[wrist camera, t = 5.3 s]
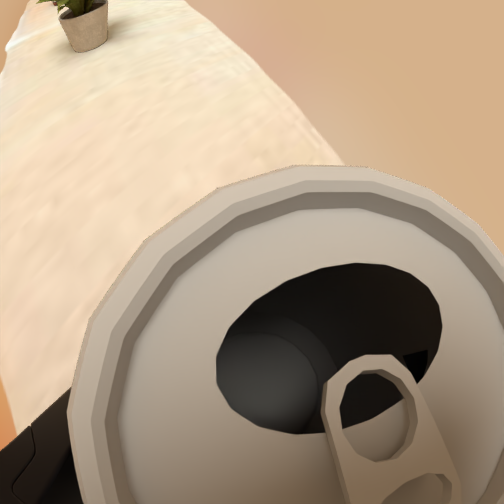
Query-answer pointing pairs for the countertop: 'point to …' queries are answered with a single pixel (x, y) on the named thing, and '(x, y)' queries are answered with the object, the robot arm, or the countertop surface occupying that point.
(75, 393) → the can
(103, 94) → the countertop surface
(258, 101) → the countertop surface
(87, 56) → the countertop surface
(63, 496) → the robot arm
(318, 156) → the countertop surface
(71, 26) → the house plant
